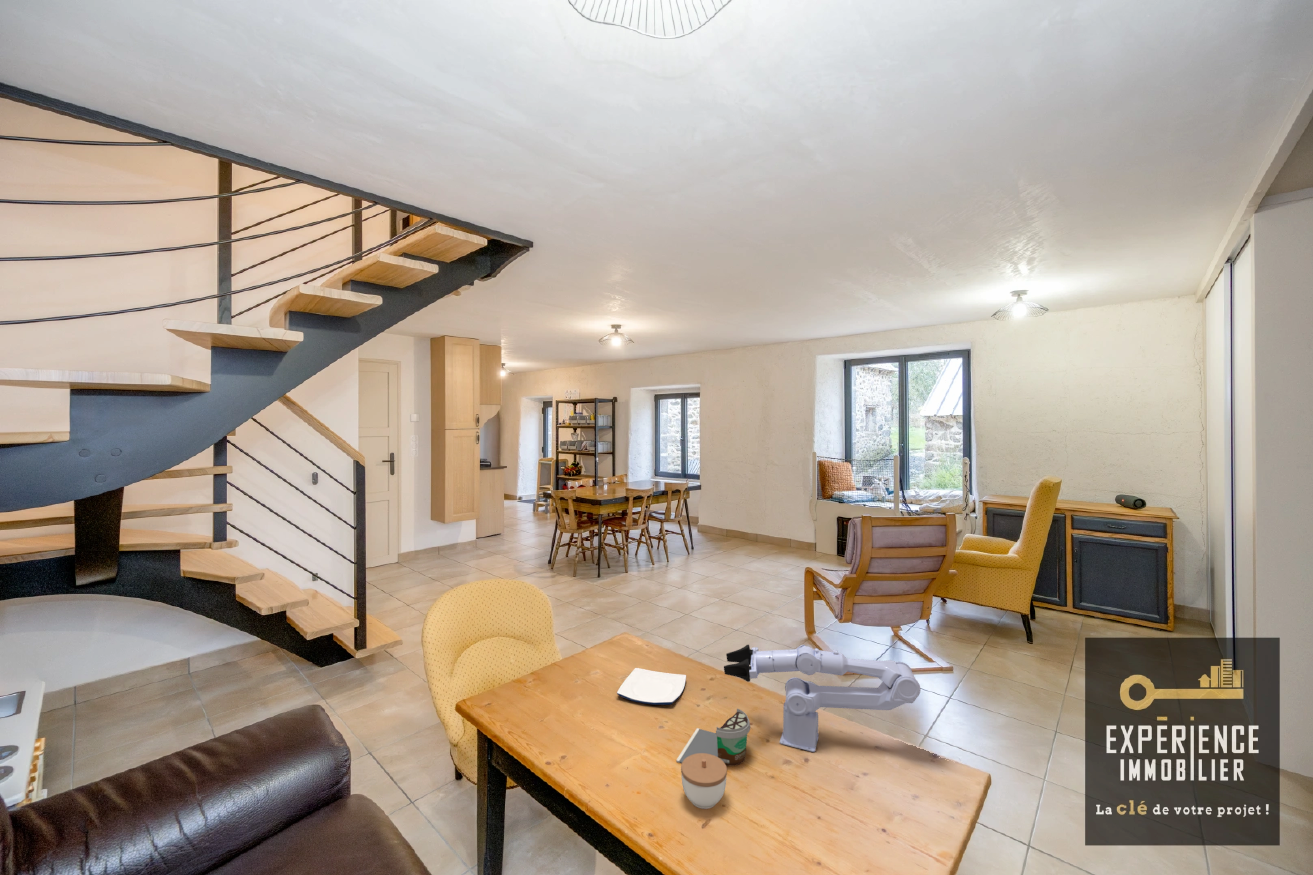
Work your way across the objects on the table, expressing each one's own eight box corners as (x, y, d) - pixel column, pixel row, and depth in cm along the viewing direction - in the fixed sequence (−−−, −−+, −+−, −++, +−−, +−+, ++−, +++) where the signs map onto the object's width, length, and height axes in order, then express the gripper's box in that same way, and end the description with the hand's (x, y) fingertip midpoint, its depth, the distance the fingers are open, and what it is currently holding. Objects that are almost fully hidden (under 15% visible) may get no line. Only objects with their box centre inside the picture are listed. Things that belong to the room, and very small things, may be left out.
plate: (612, 702, 165) (612, 693, 165) (634, 673, 185) (634, 665, 185) (674, 712, 159) (674, 704, 159) (689, 681, 179) (689, 674, 179)
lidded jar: (697, 777, 129) (698, 740, 129) (735, 797, 122) (735, 758, 122) (671, 801, 121) (671, 761, 121) (710, 824, 114) (710, 781, 114)
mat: (730, 738, 146) (730, 736, 146) (712, 772, 131) (712, 770, 131) (697, 729, 150) (697, 727, 150) (676, 761, 135) (676, 759, 135)
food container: (736, 775, 130) (736, 736, 130) (715, 766, 134) (715, 727, 134) (758, 751, 140) (758, 714, 140) (737, 743, 144) (737, 707, 143)
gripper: (771, 636, 153) (725, 639, 156) (770, 659, 139) (720, 661, 142) (775, 659, 153) (729, 661, 157) (774, 685, 139) (724, 687, 142)
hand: (725, 663), depth 149 cm, fingers open, 7 cm apart
